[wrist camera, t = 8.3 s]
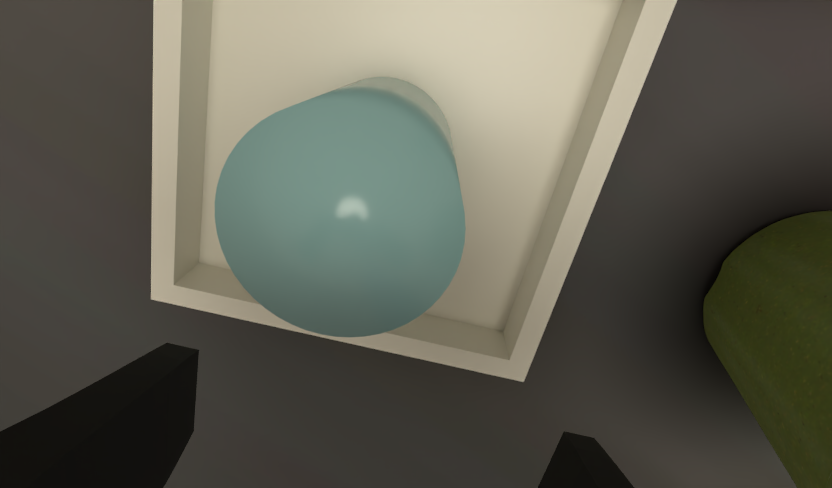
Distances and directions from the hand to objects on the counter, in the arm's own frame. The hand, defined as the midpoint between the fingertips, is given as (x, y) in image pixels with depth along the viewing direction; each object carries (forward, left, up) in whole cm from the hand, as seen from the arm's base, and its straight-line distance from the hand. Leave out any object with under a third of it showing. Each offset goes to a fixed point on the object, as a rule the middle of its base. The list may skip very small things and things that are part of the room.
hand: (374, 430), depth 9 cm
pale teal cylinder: (+2, -3, -9) cm, 10 cm away
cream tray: (+2, -4, -10) cm, 11 cm away
